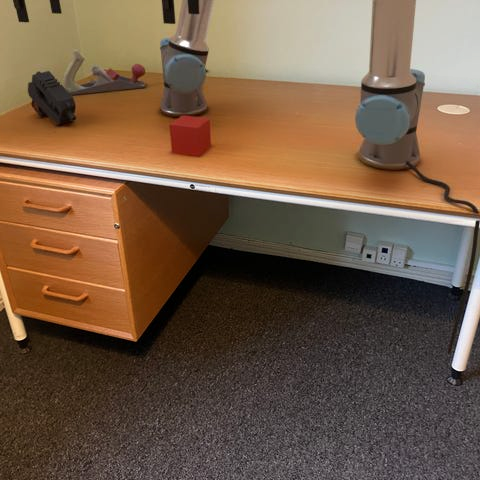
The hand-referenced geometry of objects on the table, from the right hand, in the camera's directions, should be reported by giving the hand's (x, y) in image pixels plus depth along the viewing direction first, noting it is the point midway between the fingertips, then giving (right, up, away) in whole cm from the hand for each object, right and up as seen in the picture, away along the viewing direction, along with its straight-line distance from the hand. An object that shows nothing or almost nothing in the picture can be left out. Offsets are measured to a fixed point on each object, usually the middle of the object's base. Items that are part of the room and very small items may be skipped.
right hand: (182, 18), depth 129 cm
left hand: (-39, +6, +13) cm, 42 cm away
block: (+1, -29, +18) cm, 34 cm away
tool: (-45, -16, +41) cm, 62 cm away
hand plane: (-36, +2, +69) cm, 78 cm away
